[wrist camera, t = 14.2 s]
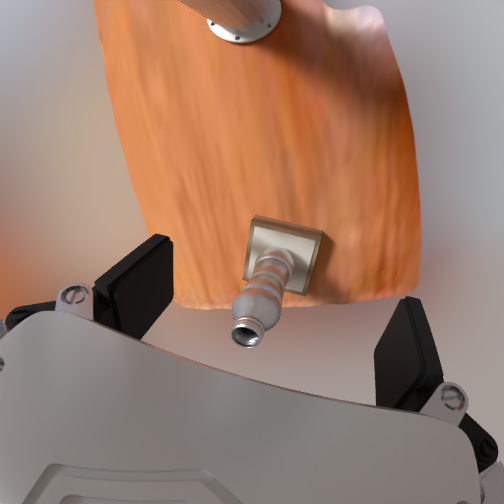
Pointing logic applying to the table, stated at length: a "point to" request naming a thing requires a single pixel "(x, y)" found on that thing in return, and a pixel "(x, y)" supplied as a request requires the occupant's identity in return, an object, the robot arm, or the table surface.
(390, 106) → the table surface
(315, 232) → the plinth
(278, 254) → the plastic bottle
